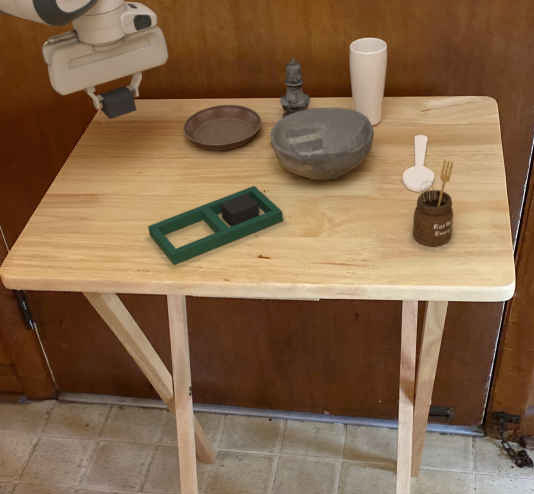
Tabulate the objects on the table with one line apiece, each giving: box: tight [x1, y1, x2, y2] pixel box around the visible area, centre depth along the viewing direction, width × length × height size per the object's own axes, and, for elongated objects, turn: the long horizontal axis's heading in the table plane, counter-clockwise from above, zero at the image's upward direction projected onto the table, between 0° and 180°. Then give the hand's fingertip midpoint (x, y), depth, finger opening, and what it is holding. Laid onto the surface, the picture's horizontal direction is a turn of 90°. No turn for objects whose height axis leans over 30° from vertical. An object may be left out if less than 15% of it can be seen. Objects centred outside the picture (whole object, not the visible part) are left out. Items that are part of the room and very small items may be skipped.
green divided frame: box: [147, 185, 284, 266], centre depth 133 cm, size 20×9×2 cm, turn 120°
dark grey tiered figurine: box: [279, 57, 311, 118], centre depth 155 cm, size 6×6×12 cm
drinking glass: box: [348, 37, 388, 127], centre depth 151 cm, size 7×7×15 cm
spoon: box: [402, 134, 435, 193], centre depth 143 cm, size 5×18×1 cm, turn 170°
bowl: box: [269, 106, 375, 181], centre depth 142 cm, size 18×18×8 cm
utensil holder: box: [412, 159, 454, 247], centre depth 124 cm, size 6×6×12 cm
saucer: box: [183, 104, 262, 151], centre depth 155 cm, size 15×15×3 cm
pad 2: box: [221, 193, 260, 227], centre depth 134 cm, size 5×4×3 cm
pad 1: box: [97, 85, 137, 120], centre depth 140 cm, size 5×4×3 cm
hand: (117, 101), depth 140 cm, fingers closed on pad 1, 5 cm apart
